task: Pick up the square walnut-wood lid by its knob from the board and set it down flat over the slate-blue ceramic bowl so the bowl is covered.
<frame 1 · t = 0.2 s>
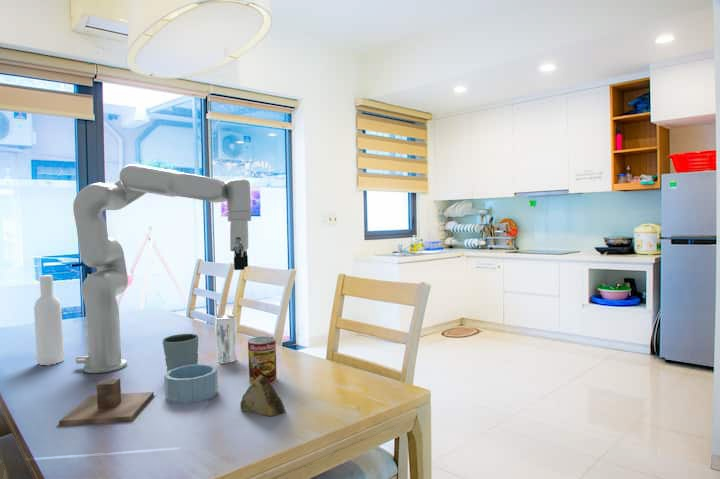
hand: (241, 268, 159), 31 cm above the table, fingers open, 9 cm apart
drinking glass: (182, 377, 145), on the table
lid: (109, 410, 119), resting on board
canned food: (263, 381, 140), on the table
bottle: (50, 363, 164), on the table
board: (109, 411, 119), on the table
bowl: (192, 395, 129), on the table
beer glass: (227, 361, 160), on the table
rock: (262, 412, 117), on the table
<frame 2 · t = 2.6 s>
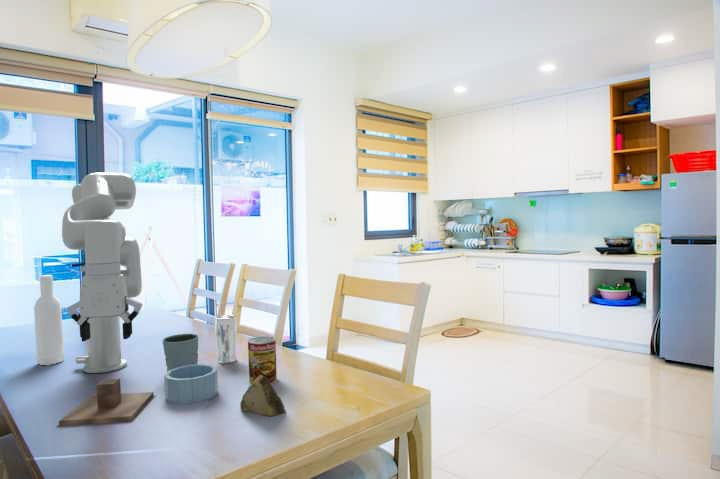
hand: (106, 338, 118), 18 cm above the table, fingers open, 9 cm apart
nothing on the table moved.
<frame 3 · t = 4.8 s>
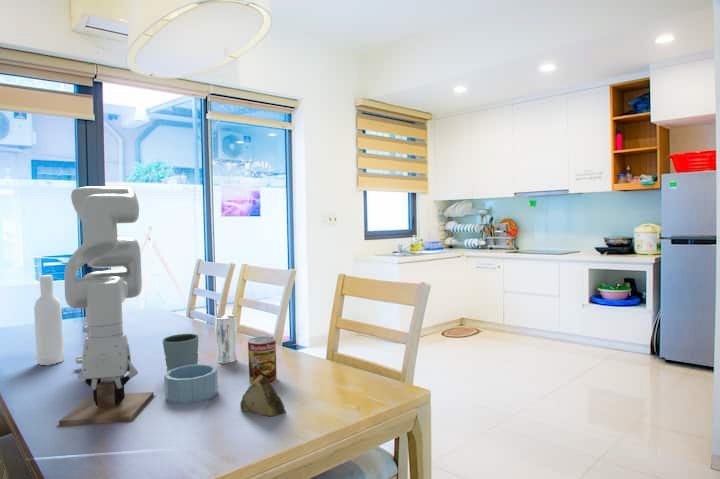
hand: (109, 402, 119), 2 cm above the table, fingers closed on lid, 4 cm apart
lid: (109, 410, 119), resting on board, touching gripper
everything else where it was.
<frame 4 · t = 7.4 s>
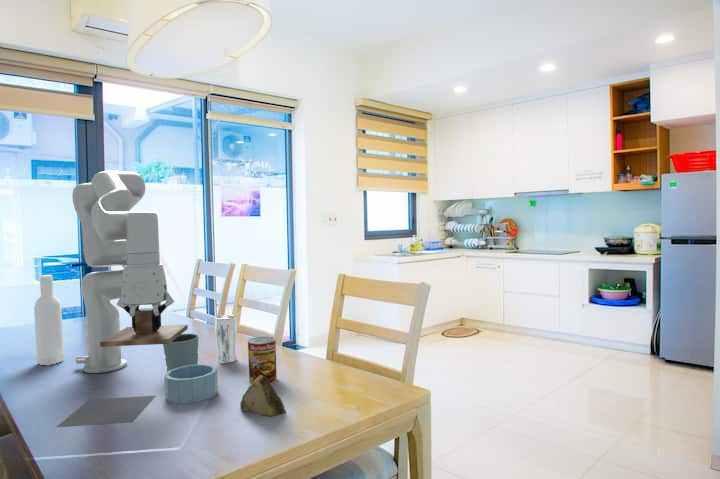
hand: (147, 329, 123), 19 cm above the table, fingers closed on lid, 4 cm apart
lid: (147, 337, 123), point 17 cm above the table, touching gripper
everything else where it was.
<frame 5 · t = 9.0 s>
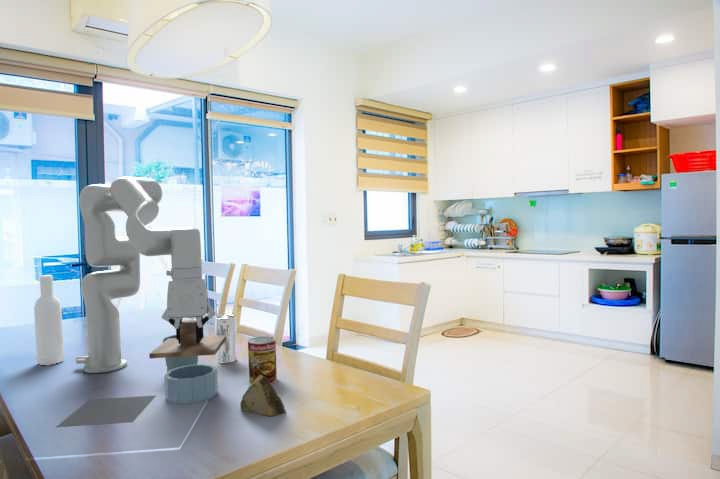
hand: (190, 341, 128), 15 cm above the table, fingers closed on lid, 4 cm apart
lid: (190, 348, 128), point 13 cm above the table, touching gripper
everything else where it was.
when the fingers open (10 cm above the table, at t = 10.2 s): lid drops 1 cm, resting on bowl.
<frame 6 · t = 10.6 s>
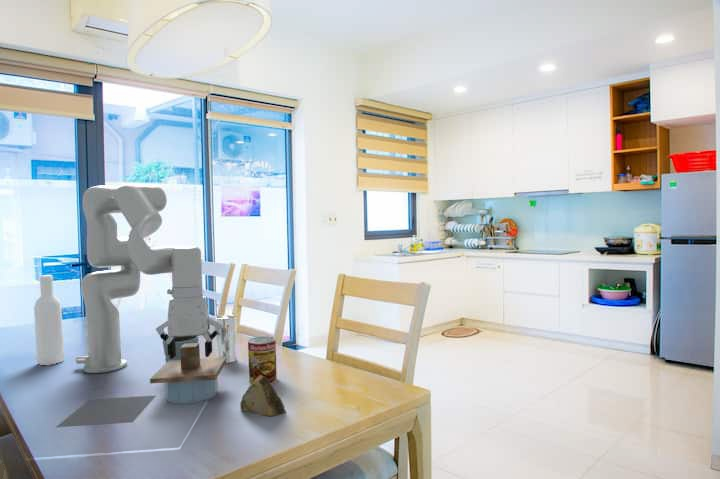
hand: (190, 356, 129), 11 cm above the table, fingers open, 8 cm apart
lid: (190, 371, 129), point 6 cm above the table, touching bowl
everything else where it was.
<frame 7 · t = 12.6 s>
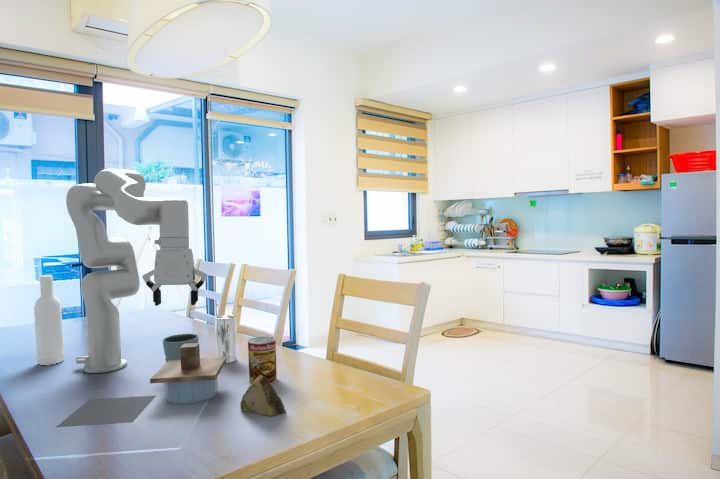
hand: (175, 304, 133), 24 cm above the table, fingers open, 9 cm apart
nothing on the table moved.
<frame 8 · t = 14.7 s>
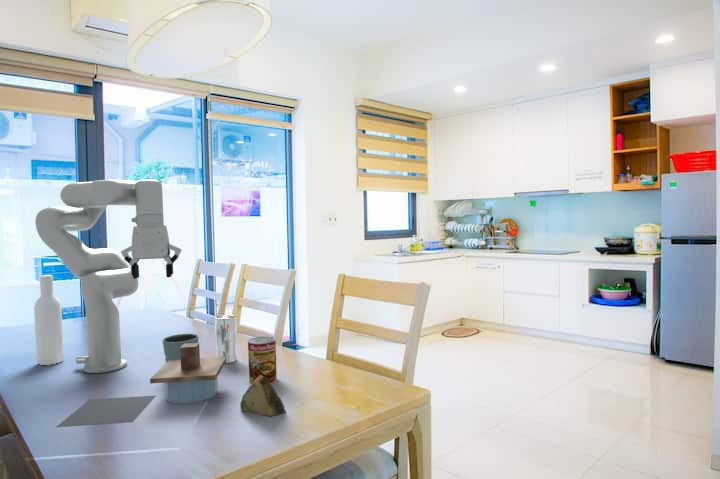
hand: (152, 277, 145), 30 cm above the table, fingers open, 9 cm apart
nothing on the table moved.
at the end: lid 0.1 cm off-centre on the bowl, point 6.5 cm above the bowl's base; lid tilted 0°; the gripper is holding nothing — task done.
